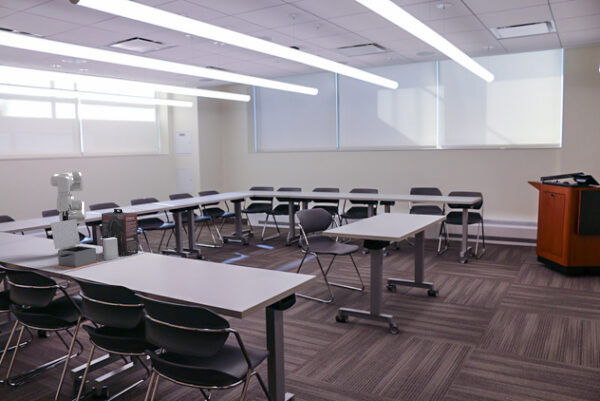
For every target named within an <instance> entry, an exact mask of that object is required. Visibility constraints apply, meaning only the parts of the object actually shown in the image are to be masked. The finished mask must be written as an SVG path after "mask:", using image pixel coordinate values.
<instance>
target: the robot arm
mask: <svg viewBox="0 0 600 401" xmlns="http://www.w3.org/2000/svg"><path fill="white" fill-rule="evenodd" d="M49 182H50V185H51V186H52V187H54V188H56V187H57V197H56V211H58V213H59V214H58V218H59V219H58V220H59V222H60V221H67V220H74V219H76V222H77V224H83V223H85V222H86V220H87V219H86V217H87V215H86V214H87V213H86V212H87V211H86V209H87V208H86V203H85V201H84V200H82V199H81V200H80V199H76V200H75V196H74V195H73V194H72V193H71V192H82V191H83V190H84V186H85V185H84V178H83V174H82V173H81V172H80V171H77V170H76V171H73V170H72V171H71V170H70V171H69V170H68V171H63V172H62V173H56V174H52V175H51V176H50V181H49ZM72 247H77V245H73V246H68V247H63V248H59V250H62V249H67V248H72Z"/></svg>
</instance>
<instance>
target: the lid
mask: <svg viewBox="0 0 600 401" xmlns="http://www.w3.org/2000/svg"><path fill="white" fill-rule="evenodd" d="M50 228H51V233H52V240H53V246H54V249H55V250H57V249H58V250H59V249H60V248H63V247H68V246H73V245H76V246H79V245H81V241H80V240H81V239H80V234H79V229H78V223H77V222H76V219H74V220H67V221H60V220H59V221H54V222H53V221H52V222H50Z"/></svg>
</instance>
